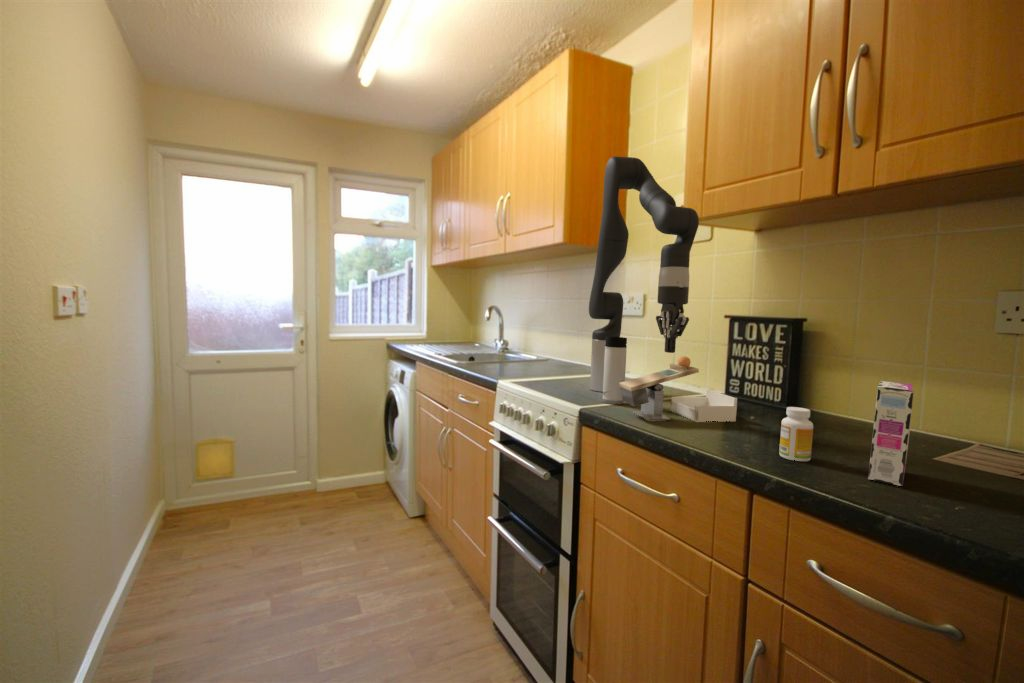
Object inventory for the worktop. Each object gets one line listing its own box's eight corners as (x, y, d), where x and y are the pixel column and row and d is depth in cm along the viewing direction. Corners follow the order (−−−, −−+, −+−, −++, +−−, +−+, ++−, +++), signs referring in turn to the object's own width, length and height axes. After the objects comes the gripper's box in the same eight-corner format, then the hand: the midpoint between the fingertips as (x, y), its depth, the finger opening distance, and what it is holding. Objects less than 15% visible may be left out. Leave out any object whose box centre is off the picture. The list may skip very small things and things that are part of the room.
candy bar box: (905, 488, 78) (914, 390, 77) (867, 481, 81) (876, 386, 80) (904, 471, 87) (913, 383, 85) (870, 465, 90) (878, 379, 89)
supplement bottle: (813, 458, 93) (817, 409, 92) (807, 464, 89) (811, 413, 88) (783, 451, 97) (786, 404, 96) (775, 457, 93) (779, 408, 92)
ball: (674, 367, 126) (675, 355, 125) (685, 367, 126) (686, 355, 126) (681, 369, 122) (682, 357, 122) (692, 369, 123) (693, 356, 123)
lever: (634, 406, 119) (629, 382, 118) (622, 400, 126) (618, 378, 125) (701, 387, 122) (697, 363, 121) (686, 382, 129) (682, 360, 128)
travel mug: (601, 403, 139) (604, 335, 137) (603, 399, 145) (606, 334, 143) (622, 405, 137) (626, 336, 135) (624, 401, 143) (627, 335, 141)
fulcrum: (632, 413, 128) (634, 378, 127) (653, 412, 129) (655, 378, 128) (648, 421, 119) (650, 384, 118) (670, 420, 120) (672, 384, 119)
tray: (670, 411, 131) (671, 389, 131) (707, 410, 134) (709, 389, 133) (695, 422, 120) (697, 398, 119) (735, 421, 122) (737, 398, 121)
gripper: (647, 286, 128) (644, 350, 129) (673, 283, 115) (669, 355, 116) (673, 287, 129) (669, 350, 130) (701, 285, 116) (697, 355, 117)
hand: (669, 352), depth 123 cm, fingers closed
